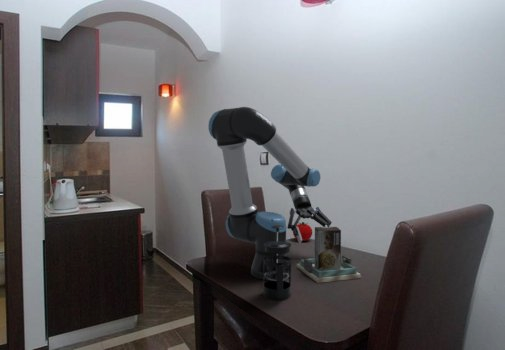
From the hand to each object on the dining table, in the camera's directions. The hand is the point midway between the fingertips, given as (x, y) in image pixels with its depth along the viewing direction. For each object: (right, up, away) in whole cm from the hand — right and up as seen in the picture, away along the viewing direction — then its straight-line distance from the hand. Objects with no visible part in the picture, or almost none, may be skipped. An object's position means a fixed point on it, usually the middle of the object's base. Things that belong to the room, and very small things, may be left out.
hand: (315, 240), depth 147 cm
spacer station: (+3, -11, -9) cm, 15 cm away
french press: (-18, -12, -32) cm, 39 cm away
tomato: (0, -8, +42) cm, 42 cm away
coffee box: (+3, -10, -9) cm, 14 cm away
